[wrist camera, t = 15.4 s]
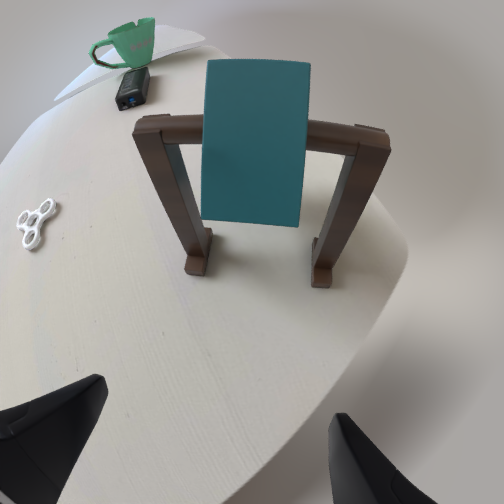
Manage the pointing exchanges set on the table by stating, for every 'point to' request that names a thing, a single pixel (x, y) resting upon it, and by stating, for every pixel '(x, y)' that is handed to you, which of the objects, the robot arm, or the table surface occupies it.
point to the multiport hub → (133, 89)
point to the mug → (129, 44)
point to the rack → (318, 139)
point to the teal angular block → (254, 140)
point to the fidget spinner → (36, 227)
